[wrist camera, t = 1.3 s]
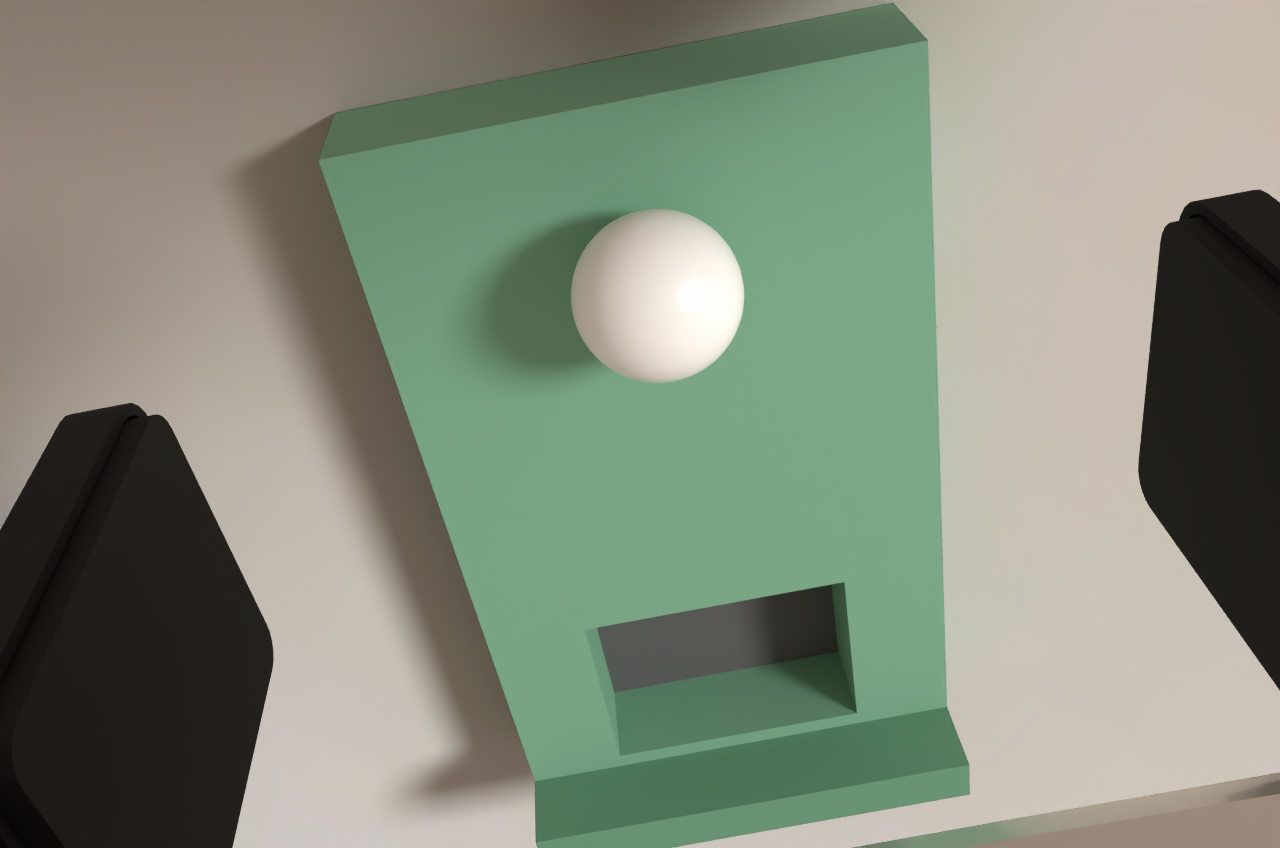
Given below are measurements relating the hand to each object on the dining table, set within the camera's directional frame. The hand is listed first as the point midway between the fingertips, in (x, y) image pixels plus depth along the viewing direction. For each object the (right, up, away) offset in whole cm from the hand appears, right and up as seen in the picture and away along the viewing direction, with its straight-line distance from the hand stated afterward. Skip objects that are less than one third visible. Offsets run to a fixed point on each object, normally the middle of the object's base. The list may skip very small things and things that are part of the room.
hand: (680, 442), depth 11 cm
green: (+1, 0, +25) cm, 25 cm away
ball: (0, +4, +18) cm, 19 cm away
